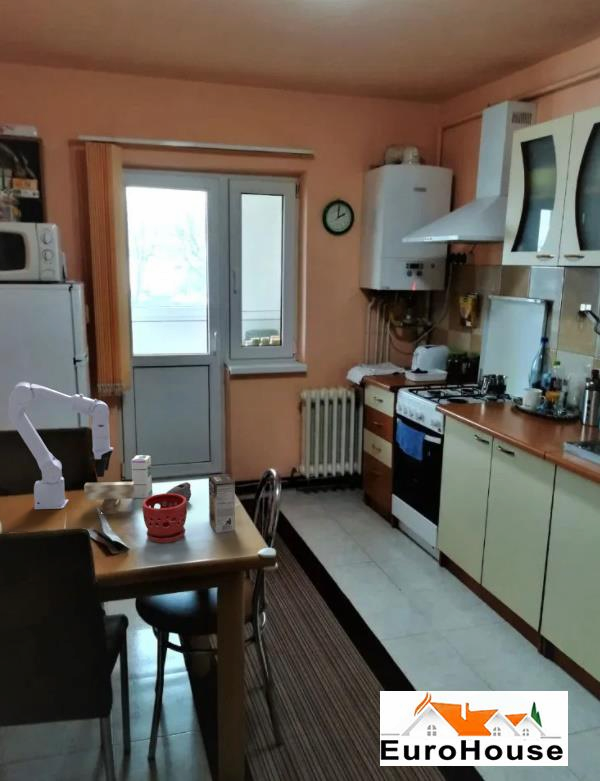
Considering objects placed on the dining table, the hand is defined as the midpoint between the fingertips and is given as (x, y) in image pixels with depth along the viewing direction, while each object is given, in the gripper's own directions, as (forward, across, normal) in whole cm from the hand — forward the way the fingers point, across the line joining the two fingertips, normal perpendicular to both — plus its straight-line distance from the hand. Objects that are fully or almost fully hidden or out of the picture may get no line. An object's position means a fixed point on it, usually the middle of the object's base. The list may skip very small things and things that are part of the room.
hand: (102, 473), depth 217 cm
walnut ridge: (+10, -9, -4) cm, 14 cm away
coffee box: (+10, -28, -42) cm, 51 cm away
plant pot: (+10, -35, -25) cm, 44 cm away
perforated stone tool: (+10, -8, -26) cm, 29 cm away
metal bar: (+6, -9, -4) cm, 11 cm away
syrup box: (+10, +4, -13) cm, 17 cm away
